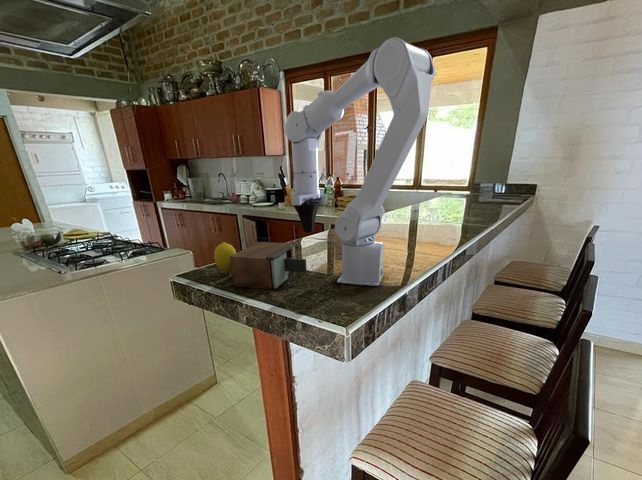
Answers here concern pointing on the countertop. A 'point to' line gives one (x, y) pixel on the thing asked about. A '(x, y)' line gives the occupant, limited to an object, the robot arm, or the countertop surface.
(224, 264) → the lemon
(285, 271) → the sliding door
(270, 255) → the cabinet
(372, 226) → the robot arm
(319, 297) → the countertop surface
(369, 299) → the countertop surface
